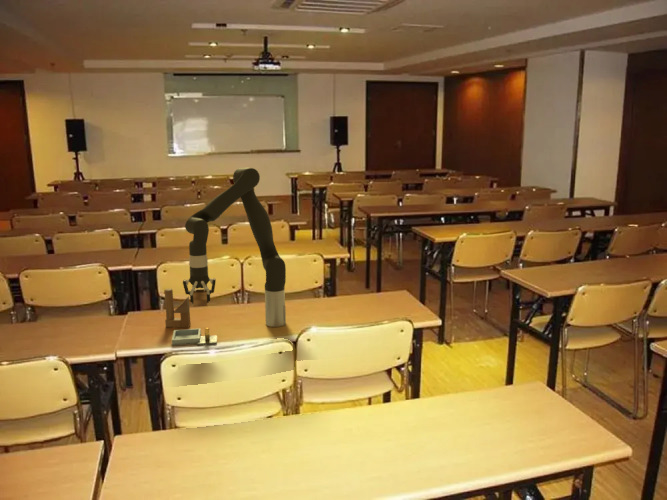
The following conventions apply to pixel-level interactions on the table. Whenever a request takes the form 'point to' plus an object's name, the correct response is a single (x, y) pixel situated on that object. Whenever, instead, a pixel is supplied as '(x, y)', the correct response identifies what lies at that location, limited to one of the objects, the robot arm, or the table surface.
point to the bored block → (200, 297)
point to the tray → (186, 336)
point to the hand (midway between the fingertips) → (200, 302)
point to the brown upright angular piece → (176, 311)
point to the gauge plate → (209, 342)
